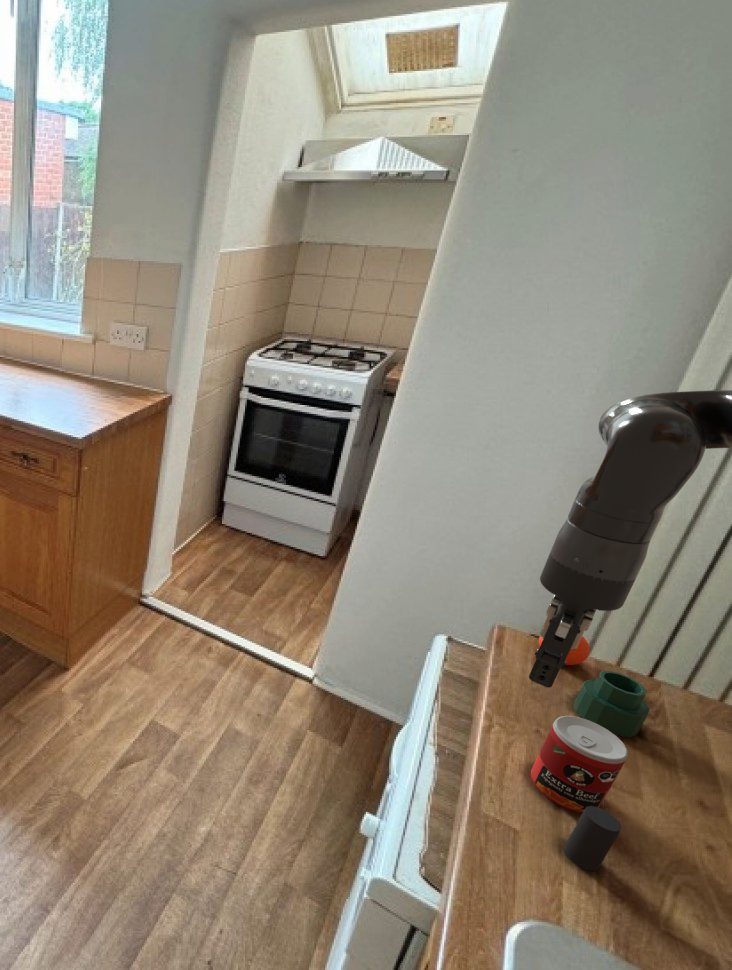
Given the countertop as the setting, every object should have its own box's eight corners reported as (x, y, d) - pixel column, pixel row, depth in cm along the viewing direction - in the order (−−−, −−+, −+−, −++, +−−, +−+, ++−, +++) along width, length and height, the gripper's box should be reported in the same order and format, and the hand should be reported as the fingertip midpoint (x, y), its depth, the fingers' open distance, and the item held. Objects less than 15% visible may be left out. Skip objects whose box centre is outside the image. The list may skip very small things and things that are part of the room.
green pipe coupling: (639, 722, 101) (659, 685, 98) (633, 746, 96) (654, 709, 93) (577, 694, 106) (594, 659, 103) (568, 716, 102) (586, 679, 99)
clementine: (581, 682, 109) (596, 651, 107) (531, 663, 114) (545, 633, 111) (581, 659, 115) (596, 629, 112) (534, 642, 119) (547, 613, 116)
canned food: (526, 792, 89) (552, 737, 84) (531, 759, 94) (556, 706, 90) (597, 828, 84) (629, 771, 79) (598, 791, 89) (628, 736, 85)
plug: (599, 862, 79) (623, 820, 76) (594, 878, 77) (619, 836, 74) (565, 842, 82) (587, 801, 79) (560, 857, 80) (582, 816, 77)
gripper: (630, 599, 65) (575, 712, 71) (644, 553, 73) (594, 657, 79) (540, 568, 70) (496, 676, 76) (562, 529, 79) (521, 628, 85)
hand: (546, 666), depth 78 cm, fingers open, 8 cm apart
